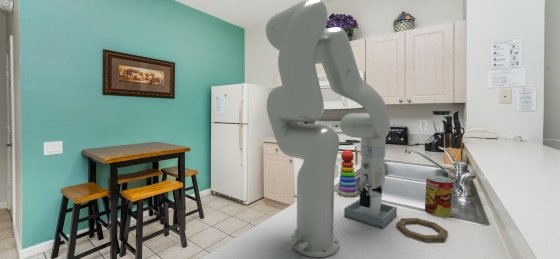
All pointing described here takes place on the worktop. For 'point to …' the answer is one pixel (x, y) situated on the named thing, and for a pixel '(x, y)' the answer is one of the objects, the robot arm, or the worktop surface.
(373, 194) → the white cylinder
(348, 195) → the stacking toy
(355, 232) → the worktop surface
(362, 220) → the tray
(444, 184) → the canned food
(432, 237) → the coaster ring
